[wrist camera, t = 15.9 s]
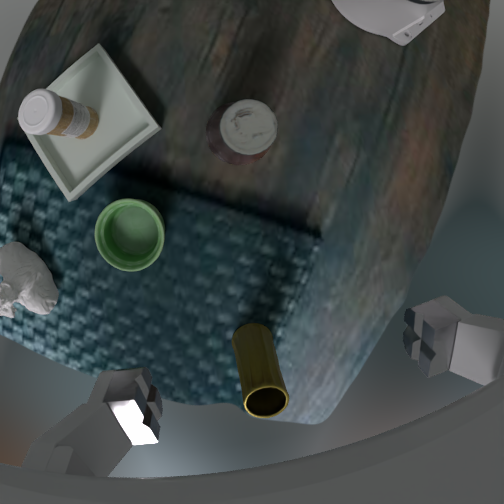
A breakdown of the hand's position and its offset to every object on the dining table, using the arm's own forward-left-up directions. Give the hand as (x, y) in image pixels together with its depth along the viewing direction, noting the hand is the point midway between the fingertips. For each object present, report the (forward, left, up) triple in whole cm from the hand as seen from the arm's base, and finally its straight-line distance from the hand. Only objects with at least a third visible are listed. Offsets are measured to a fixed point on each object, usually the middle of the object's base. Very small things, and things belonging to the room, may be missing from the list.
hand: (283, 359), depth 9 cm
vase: (+9, +18, -34) cm, 40 cm away
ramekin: (+12, -5, -34) cm, 37 cm away
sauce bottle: (-5, -7, -34) cm, 35 cm away
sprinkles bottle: (+9, -21, -34) cm, 40 cm away
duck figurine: (+30, -10, -34) cm, 47 cm away
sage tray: (+9, -21, -34) cm, 41 cm away
